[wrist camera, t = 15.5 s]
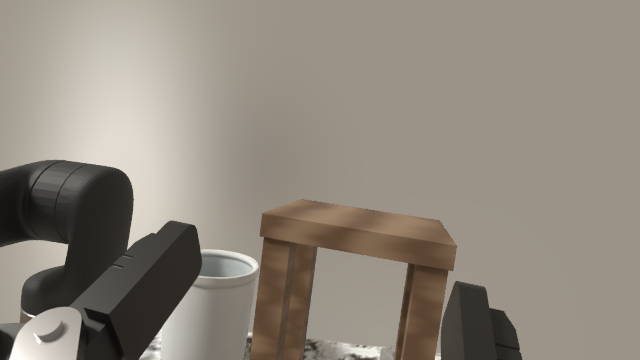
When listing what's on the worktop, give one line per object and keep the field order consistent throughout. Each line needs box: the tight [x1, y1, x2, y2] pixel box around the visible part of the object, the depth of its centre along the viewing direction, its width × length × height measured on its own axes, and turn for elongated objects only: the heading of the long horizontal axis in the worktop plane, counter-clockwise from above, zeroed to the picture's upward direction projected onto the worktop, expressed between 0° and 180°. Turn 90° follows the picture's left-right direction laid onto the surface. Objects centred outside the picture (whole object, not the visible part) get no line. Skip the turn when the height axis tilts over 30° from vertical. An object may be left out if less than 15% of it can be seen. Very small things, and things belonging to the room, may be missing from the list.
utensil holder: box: [160, 250, 259, 360], centre depth 63 cm, size 15×15×18 cm
